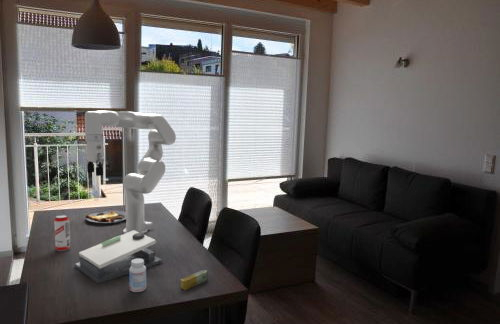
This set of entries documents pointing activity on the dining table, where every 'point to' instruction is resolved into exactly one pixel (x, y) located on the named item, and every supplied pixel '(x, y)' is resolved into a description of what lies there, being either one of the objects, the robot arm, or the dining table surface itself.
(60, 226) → the beer can
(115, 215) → the food plate
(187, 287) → the medication box
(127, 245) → the board
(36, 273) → the dining table surface
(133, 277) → the pill bottle
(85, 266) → the level stand
